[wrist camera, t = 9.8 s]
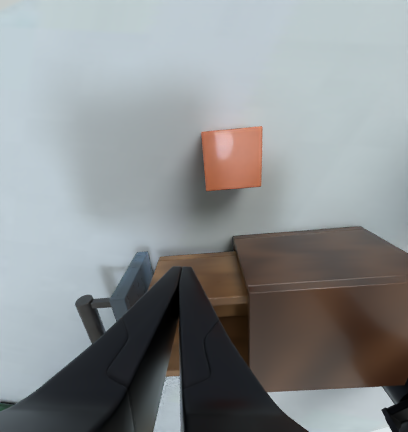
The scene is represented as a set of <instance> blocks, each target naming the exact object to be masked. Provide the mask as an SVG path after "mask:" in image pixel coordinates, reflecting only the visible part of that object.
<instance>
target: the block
mask: <svg viewBox="0 0 408 432" xmlns="http://www.w3.org/2000/svg"><path fill="white" fill-rule="evenodd" d="M201 137H202V149H203V160H204V172H205V184H206V191H215V190H227V189H239V188H251V187H261V171H262V126H260V127H249V128H239V129H228V130H217V131H207V132H201Z"/></svg>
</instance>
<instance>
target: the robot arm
mask: <svg viewBox="0 0 408 432" xmlns="http://www.w3.org/2000/svg"><path fill="white" fill-rule="evenodd" d="M178 318H179V367H180V421H181V432H309V431H307V430H306V429H304V428H303V427H302V426H300V425H299V424H298V423H296V422H295V421H294V420H292V419H291V418H290V417H288V416H287V415H286V414H285V413H284V412H283V411H282V410H281V409H280V408H279V407H278V406H277V405H276V404H275V403H274V401H273V400H272V399H271V398H270V396H269V395H268V394H267V392H266V391H265V389H264V388H263V387H262V385H261V384H260V382H259V381H258V379H257V378H256V376H255V375H254V374H253V372H252V371H251V369H250V368H249V366H248V365H247V364H246V362H245V361H244V359H243V358H242V356H241V355H240V353H239V352H238V350H237V349H236V347H235V346H234V344H233V343H232V341H231V340H230V338H229V336H228V334H227V333H226V331H225V329H224V327H223V325H222V323H221V322H220V320H219V318H218V316H217V314H216V312H215V310H214V308H213V306H212V304H211V303H210V301H209V299H208V297H207V295H206V293H205V291H204V289H203V287H202V285H201V283H200V282H199V280H198V278H197V276H196V274H195V272H194V270H193V268H192V267H187V266H183V267H181V266H172V267H171V268H170V269H169V270H168V271H167V272H166V273H165V274H164V275H163V276H162V277H161V278H160V279H159V280H158V281H157V282H156V283H155V284H154V285H153V286H152V287H151V288H150V289H149V290H148V291H147V292H146V293H145V294H144V295H143V296H142V297H141V298H140V299H139V300H138V301H137V302H136V303H135V304H134V305H133V306H132V307H131V308H130V309H129V310H128V311H127V312H126V313H125V314H124V315H123V316H122V318H120V319H119V320H118V321H117V322H116V323H115V324H114V325H113V326H112V327H111V328H109V329H108V330H107V331H106V332H105V333H104V334H103V335H102V336H101V337H100V338H99V339H98V340H96V341H95V342H94V343H93V344H92V345H91V346H89V347H88V348H87V349H86V350H85V351H84V352H82V353H81V354H80V355H79V356H78V357H76V358H75V359H74V360H73V361H72V362H70V363H69V364H68V365H67V366H66V367H64V368H63V369H62V370H61V371H59V372H58V373H57V374H56V375H55V376H53V377H52V378H51V379H50V380H49V381H47V382H46V383H45V384H44V385H43V386H41V387H40V388H39V389H37V390H36V391H35V392H33V393H32V394H31V395H29V396H28V397H26V398H25V399H23V400H22V401H20V402H18V403H17V404H15V405H13V406H11V407H9V408H7V409H5V410H2V411H0V432H153V430H154V425H155V421H156V416H157V412H158V408H159V403H160V399H161V394H162V390H163V386H164V381H165V377H166V372H167V368H168V364H169V359H170V355H171V350H172V346H173V342H174V337H175V333H176V328H177V324H178ZM382 387H383V389H384V390H385V392H386V393H387V394H388V396H389V397H390V399H391V400H392V401H393V403H394V404H395V405H393V406H391V407H389V408H384V409H382V412H383V414H384V416H385V419H386V421H387V423H388V425H389V427H390V429H391V430H392V432H408V378H407V381H406V383H405V385H398V386H382Z"/></svg>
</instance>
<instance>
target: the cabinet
mask: <svg viewBox="0 0 408 432" xmlns="http://www.w3.org/2000/svg"><path fill="white" fill-rule="evenodd" d="M233 251H236V253H237V257H238V261H239V264H240V268H241V271H242V275H243V279H244V282H245V286H246V289H247V293H248V366H249V368H250V369H251V371H252V372H253V374H254V375H255V376H256V378H257V379H258V381H259V382H260V384H261V385H262V387H263V388H264V389H265V391H266V392H280V391H300V390H320V389H339V388H359V387H379V386H398V385H405V383H406V381H407V378H408V253H406V252H405V251H403V250H401V249H399V248H398V247H396V246H394V245H392V244H391V243H389V242H387V241H385V240H384V239H382V238H380V237H378V236H377V235H375V234H373V233H371V232H370V231H368V230H366V229H364V228H363V227H361V226H359V227H346V228H333V229H320V230H307V231H294V232H281V233H267V234H254V235H241V236H233Z"/></svg>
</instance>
